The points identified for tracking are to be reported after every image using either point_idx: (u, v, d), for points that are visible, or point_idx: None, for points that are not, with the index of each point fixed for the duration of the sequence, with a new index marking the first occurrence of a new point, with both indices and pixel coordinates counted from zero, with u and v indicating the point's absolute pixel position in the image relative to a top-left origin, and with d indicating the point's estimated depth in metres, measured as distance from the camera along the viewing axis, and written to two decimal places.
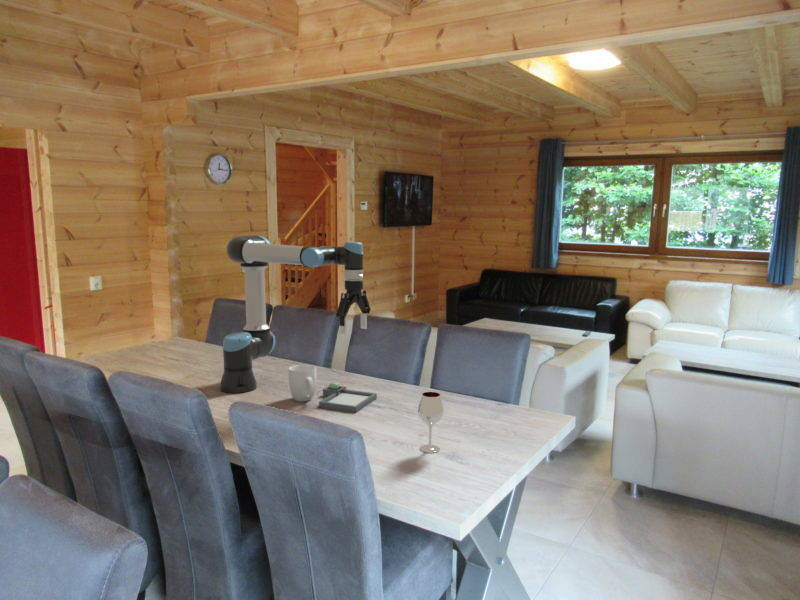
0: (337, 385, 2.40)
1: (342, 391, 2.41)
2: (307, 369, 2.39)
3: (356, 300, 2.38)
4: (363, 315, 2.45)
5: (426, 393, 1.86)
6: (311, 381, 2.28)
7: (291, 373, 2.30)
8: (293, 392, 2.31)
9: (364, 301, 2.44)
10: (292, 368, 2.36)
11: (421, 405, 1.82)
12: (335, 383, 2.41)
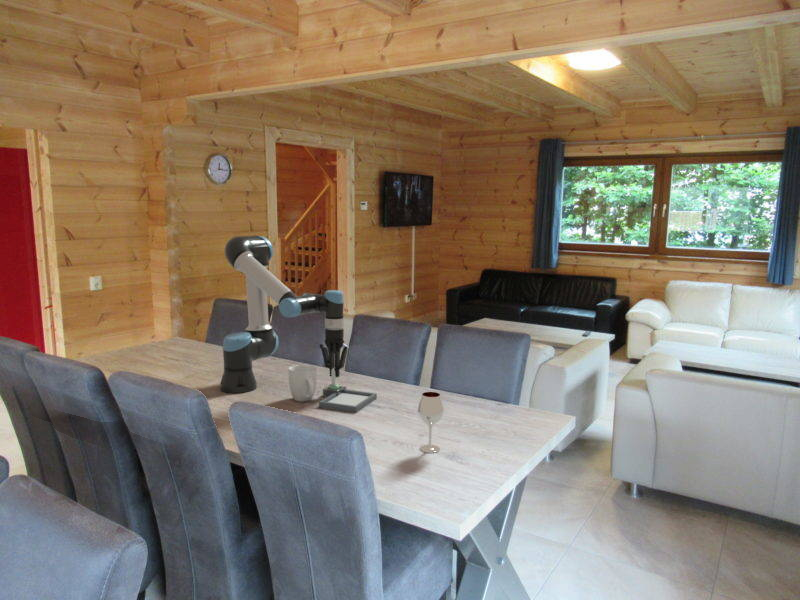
0: (337, 387, 2.40)
1: (342, 391, 2.41)
2: (307, 369, 2.39)
3: (333, 349, 2.38)
4: None
5: (426, 393, 1.86)
6: (311, 381, 2.28)
7: (291, 373, 2.30)
8: (293, 392, 2.31)
9: None
10: (292, 368, 2.36)
11: (421, 405, 1.82)
12: (335, 385, 2.41)
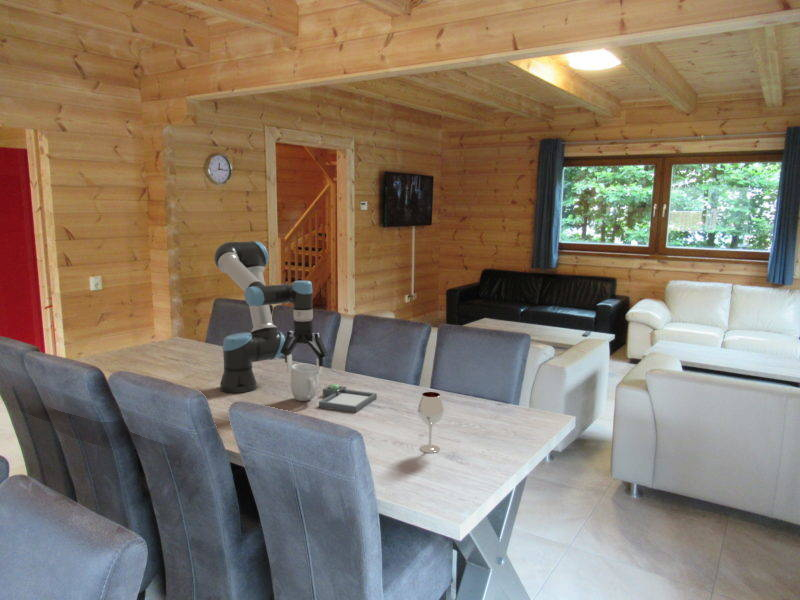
0: (337, 387, 2.40)
1: (342, 391, 2.41)
2: (309, 369, 2.38)
3: (303, 341, 2.30)
4: None
5: (426, 393, 1.86)
6: (314, 382, 2.27)
7: (294, 372, 2.30)
8: (294, 391, 2.31)
9: None
10: (295, 366, 2.35)
11: (421, 405, 1.82)
12: (335, 385, 2.41)
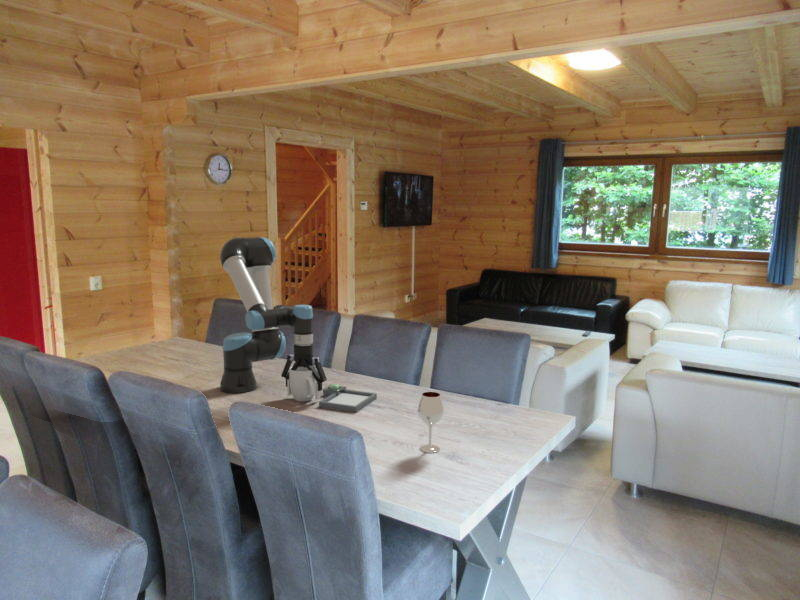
0: (337, 387, 2.40)
1: (342, 391, 2.41)
2: (307, 370, 2.38)
3: (303, 365, 2.32)
4: None
5: (426, 393, 1.86)
6: (312, 381, 2.27)
7: (292, 373, 2.30)
8: (294, 392, 2.31)
9: None
10: None
11: (421, 405, 1.82)
12: (335, 385, 2.41)
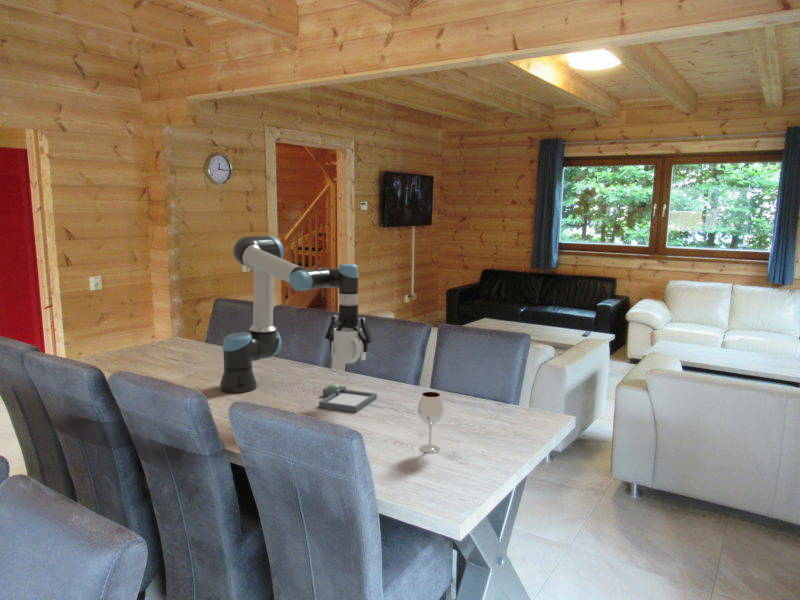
0: (337, 387, 2.40)
1: (342, 391, 2.41)
2: (351, 331, 2.33)
3: (348, 325, 2.26)
4: None
5: (426, 393, 1.86)
6: (358, 341, 2.22)
7: (337, 334, 2.25)
8: (338, 353, 2.26)
9: None
10: None
11: (421, 405, 1.82)
12: (335, 385, 2.41)
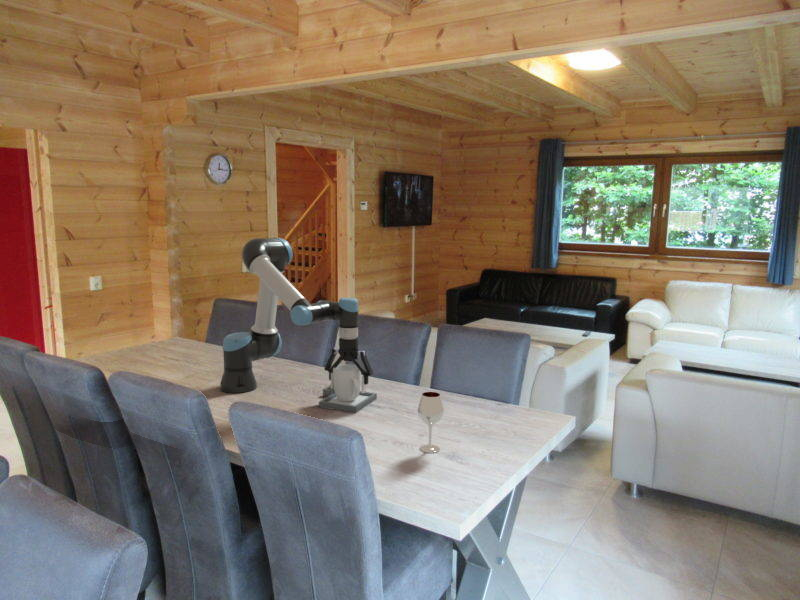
0: None
1: None
2: (351, 369, 2.36)
3: (348, 359, 2.28)
4: None
5: (426, 393, 1.86)
6: (357, 380, 2.24)
7: (336, 373, 2.27)
8: (338, 392, 2.28)
9: None
10: (336, 368, 2.33)
11: (421, 405, 1.82)
12: None
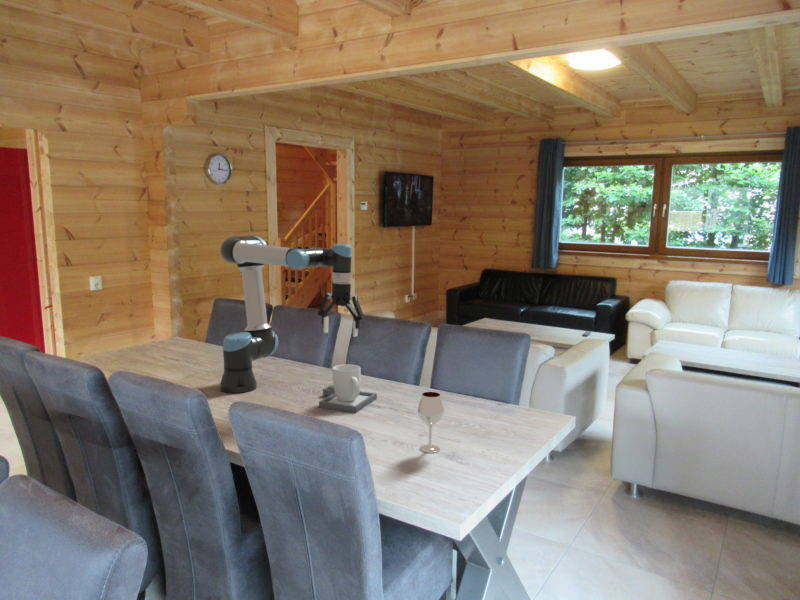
0: None
1: None
2: (351, 369, 2.35)
3: (340, 303, 2.35)
4: None
5: (426, 393, 1.86)
6: (357, 381, 2.24)
7: (336, 373, 2.27)
8: (338, 392, 2.28)
9: None
10: (336, 368, 2.33)
11: (421, 405, 1.82)
12: None
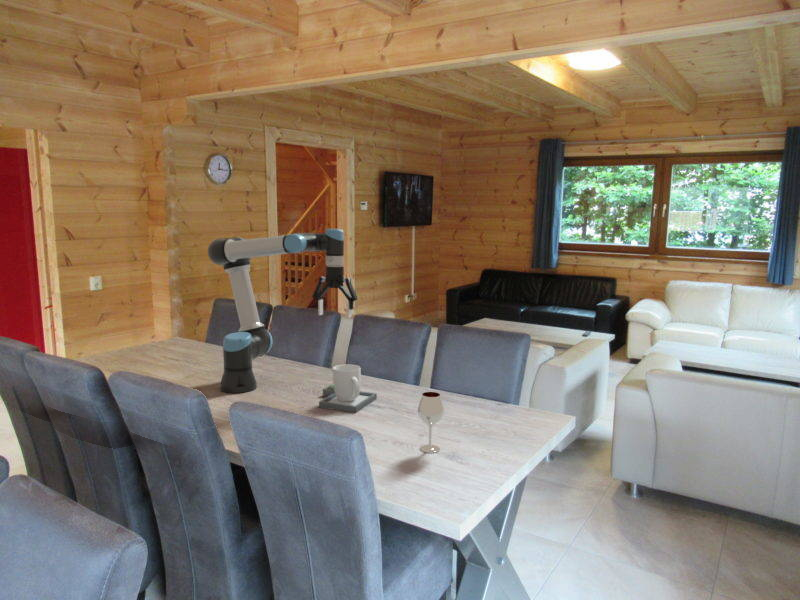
0: None
1: None
2: (351, 369, 2.35)
3: (334, 286, 2.44)
4: None
5: (426, 393, 1.86)
6: (357, 381, 2.24)
7: (336, 373, 2.27)
8: (337, 392, 2.28)
9: None
10: (336, 368, 2.33)
11: (421, 405, 1.82)
12: None
